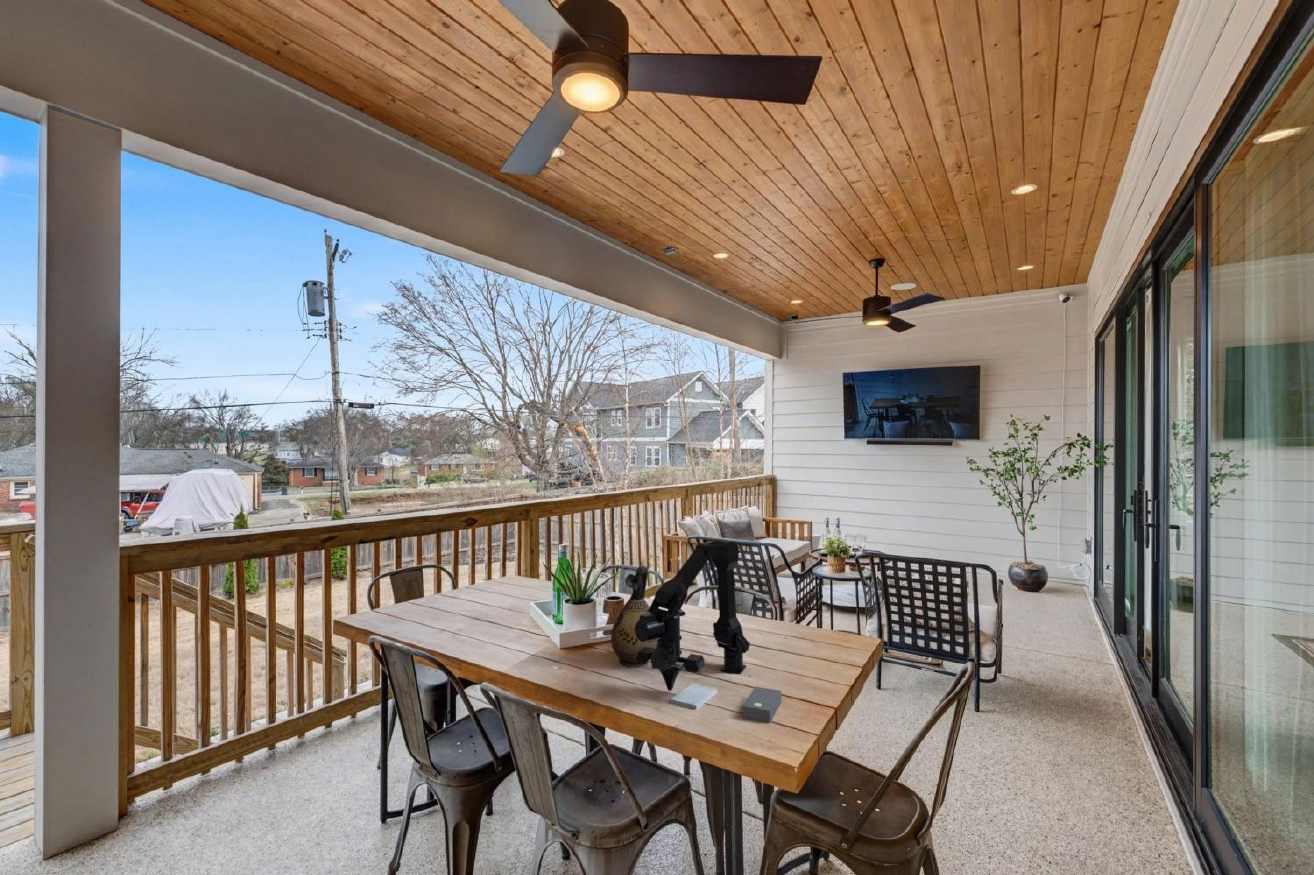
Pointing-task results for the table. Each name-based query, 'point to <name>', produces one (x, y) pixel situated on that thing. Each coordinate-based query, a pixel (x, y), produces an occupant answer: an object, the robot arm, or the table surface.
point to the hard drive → (693, 696)
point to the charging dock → (761, 704)
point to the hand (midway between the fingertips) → (670, 690)
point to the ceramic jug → (631, 621)
